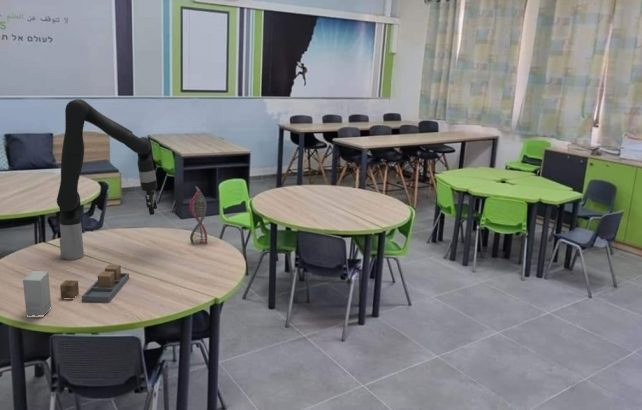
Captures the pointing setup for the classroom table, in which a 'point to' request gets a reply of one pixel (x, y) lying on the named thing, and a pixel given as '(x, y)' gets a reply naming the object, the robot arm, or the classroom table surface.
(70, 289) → the block
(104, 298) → the tray
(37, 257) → the classroom table surface
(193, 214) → the dna model
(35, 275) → the skincare box
